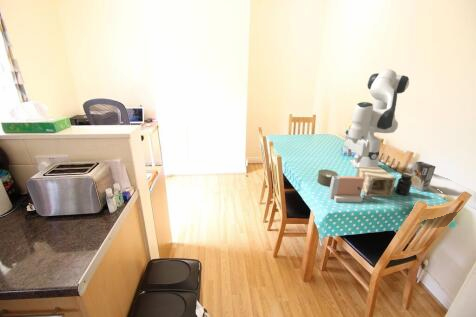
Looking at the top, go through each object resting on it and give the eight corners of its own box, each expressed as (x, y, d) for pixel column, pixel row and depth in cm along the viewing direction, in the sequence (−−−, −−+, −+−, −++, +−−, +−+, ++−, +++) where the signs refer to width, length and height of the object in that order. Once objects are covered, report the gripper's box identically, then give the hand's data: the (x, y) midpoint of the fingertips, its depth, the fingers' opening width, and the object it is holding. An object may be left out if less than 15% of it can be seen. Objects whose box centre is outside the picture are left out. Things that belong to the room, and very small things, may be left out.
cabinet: (349, 183, 150) (353, 166, 146) (375, 183, 150) (379, 167, 146) (365, 199, 132) (369, 180, 127) (395, 199, 132) (400, 181, 128)
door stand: (328, 193, 138) (329, 189, 137) (353, 193, 138) (354, 189, 137) (335, 201, 129) (336, 198, 128) (361, 202, 129) (362, 198, 128)
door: (328, 195, 135) (332, 175, 130) (357, 196, 135) (361, 176, 130) (331, 199, 131) (335, 179, 126) (360, 200, 131) (365, 179, 126)
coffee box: (428, 189, 144) (436, 166, 138) (421, 191, 142) (429, 167, 136) (413, 183, 152) (420, 161, 146) (406, 184, 150) (414, 162, 144)
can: (335, 179, 155) (336, 170, 153) (337, 187, 144) (339, 178, 142) (316, 177, 158) (318, 168, 156) (317, 185, 147) (318, 175, 145)
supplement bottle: (395, 189, 144) (400, 172, 140) (408, 192, 140) (414, 175, 136) (394, 193, 139) (399, 175, 135) (407, 197, 135) (413, 179, 131)
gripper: (375, 139, 110) (369, 166, 115) (355, 129, 129) (350, 152, 134) (362, 139, 110) (356, 166, 115) (343, 129, 129) (339, 152, 134)
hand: (353, 158), depth 125 cm, fingers open, 8 cm apart
